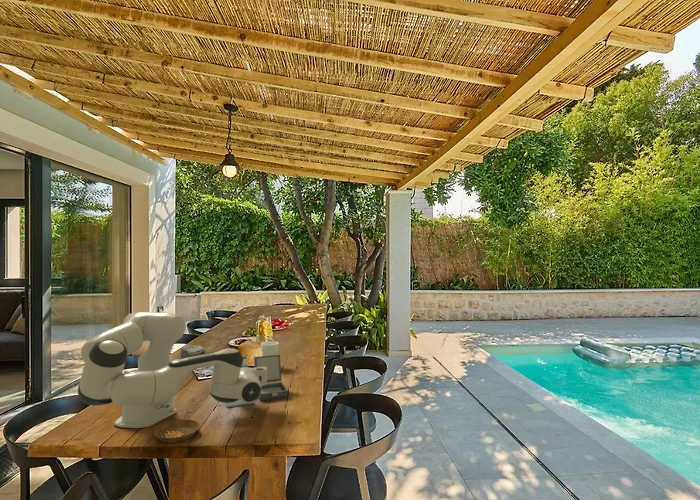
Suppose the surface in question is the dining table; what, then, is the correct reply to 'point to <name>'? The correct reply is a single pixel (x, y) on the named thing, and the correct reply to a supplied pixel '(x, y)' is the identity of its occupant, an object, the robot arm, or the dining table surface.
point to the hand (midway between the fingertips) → (239, 370)
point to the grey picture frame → (270, 366)
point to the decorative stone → (191, 350)
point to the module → (244, 361)
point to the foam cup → (269, 348)
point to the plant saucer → (177, 425)
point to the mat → (239, 403)
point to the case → (273, 391)
